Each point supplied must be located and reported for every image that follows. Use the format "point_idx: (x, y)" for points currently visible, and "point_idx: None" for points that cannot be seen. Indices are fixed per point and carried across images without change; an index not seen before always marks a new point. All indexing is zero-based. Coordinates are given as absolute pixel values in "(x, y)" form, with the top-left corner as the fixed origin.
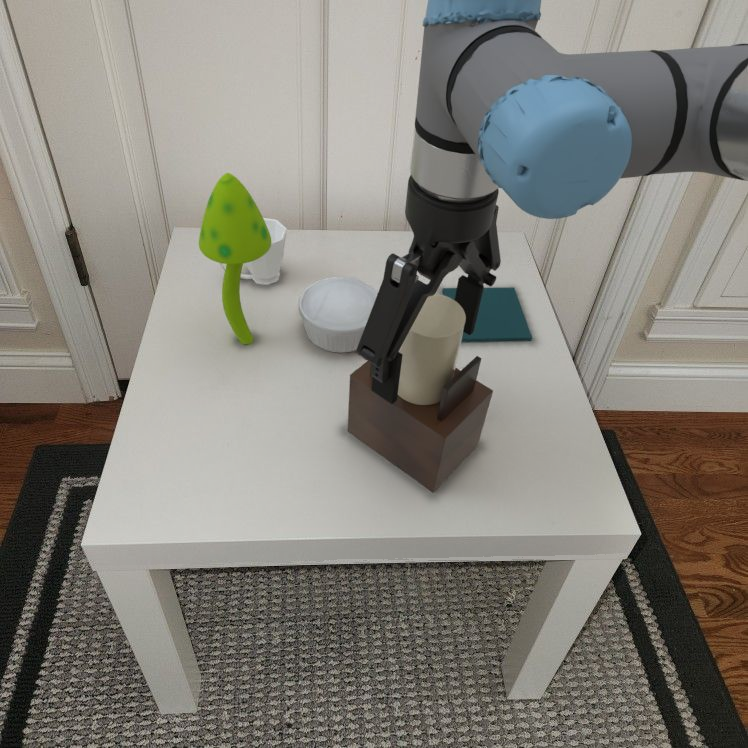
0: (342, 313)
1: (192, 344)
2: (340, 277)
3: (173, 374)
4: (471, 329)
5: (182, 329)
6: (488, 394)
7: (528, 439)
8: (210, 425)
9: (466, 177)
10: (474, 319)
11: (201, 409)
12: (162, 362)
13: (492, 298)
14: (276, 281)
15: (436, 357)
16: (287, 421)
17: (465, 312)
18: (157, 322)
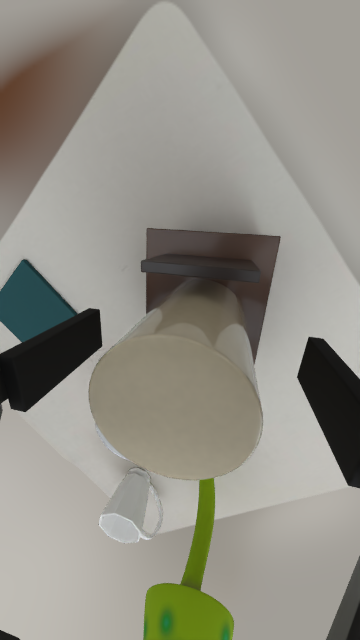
0: None
1: (236, 486)
2: (107, 446)
3: (273, 483)
4: (91, 313)
5: (228, 497)
6: (158, 230)
7: (133, 187)
8: (305, 439)
9: None
10: (74, 320)
11: (293, 452)
12: (267, 494)
13: (14, 318)
14: (138, 468)
15: (236, 333)
16: (263, 393)
17: (75, 342)
18: (233, 513)
